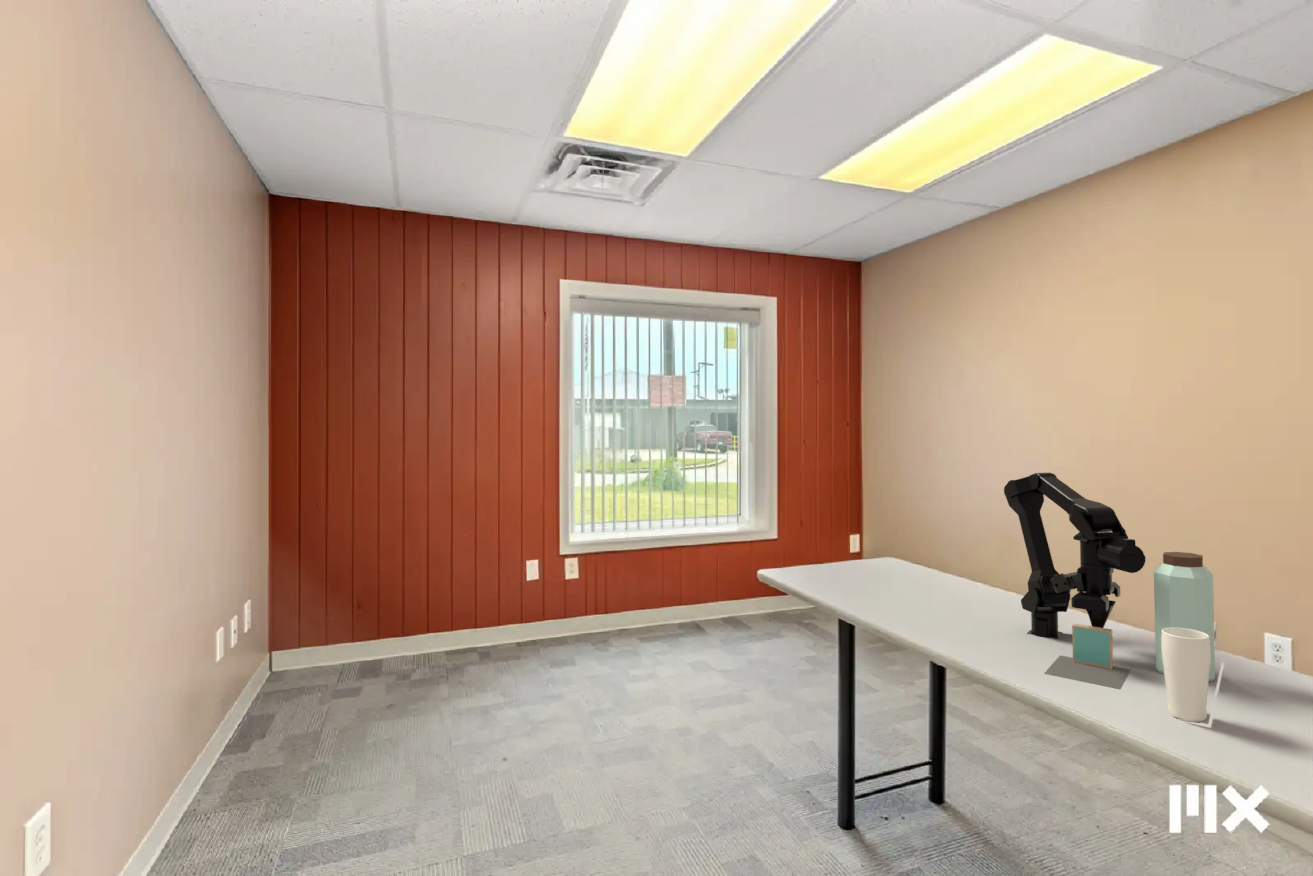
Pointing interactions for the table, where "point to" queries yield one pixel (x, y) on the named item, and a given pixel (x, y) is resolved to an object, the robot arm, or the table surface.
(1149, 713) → the table surface
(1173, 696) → the drinking glass
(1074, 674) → the mat
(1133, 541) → the robot arm
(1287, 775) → the table surface
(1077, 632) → the tile
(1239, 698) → the table surface
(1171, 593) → the water bottle
